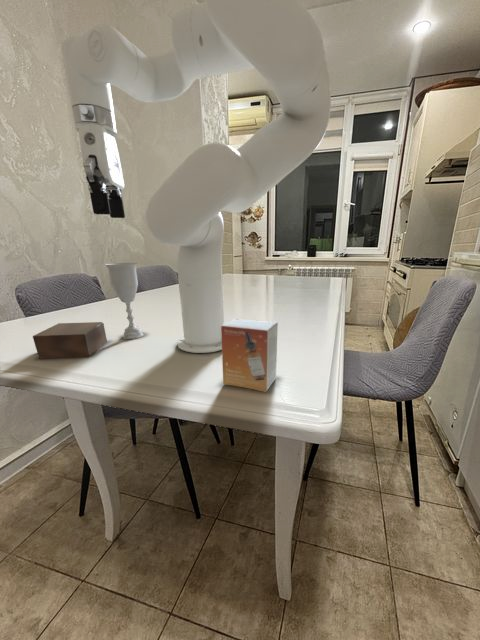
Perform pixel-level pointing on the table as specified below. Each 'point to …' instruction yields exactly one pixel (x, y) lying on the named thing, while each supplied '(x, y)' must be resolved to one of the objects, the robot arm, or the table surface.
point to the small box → (249, 353)
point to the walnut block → (70, 340)
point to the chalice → (126, 292)
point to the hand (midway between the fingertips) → (110, 216)
